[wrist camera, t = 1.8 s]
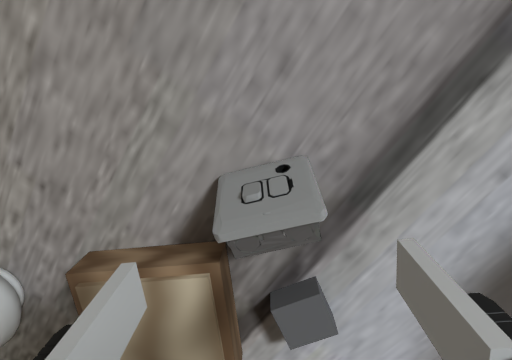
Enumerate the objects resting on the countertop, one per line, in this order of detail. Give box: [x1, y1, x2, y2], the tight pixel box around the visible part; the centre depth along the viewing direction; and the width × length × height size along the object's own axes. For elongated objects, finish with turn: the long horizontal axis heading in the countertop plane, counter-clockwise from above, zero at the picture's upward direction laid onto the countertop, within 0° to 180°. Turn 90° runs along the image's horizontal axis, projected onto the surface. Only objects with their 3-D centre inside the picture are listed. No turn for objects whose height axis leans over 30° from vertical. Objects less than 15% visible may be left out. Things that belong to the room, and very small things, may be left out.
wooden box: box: [65, 241, 242, 360], centre depth 31 cm, size 14×14×5 cm
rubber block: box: [270, 276, 338, 350], centre depth 32 cm, size 5×5×3 cm
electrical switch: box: [212, 156, 328, 259], centre depth 26 cm, size 8×5×8 cm, turn 104°
